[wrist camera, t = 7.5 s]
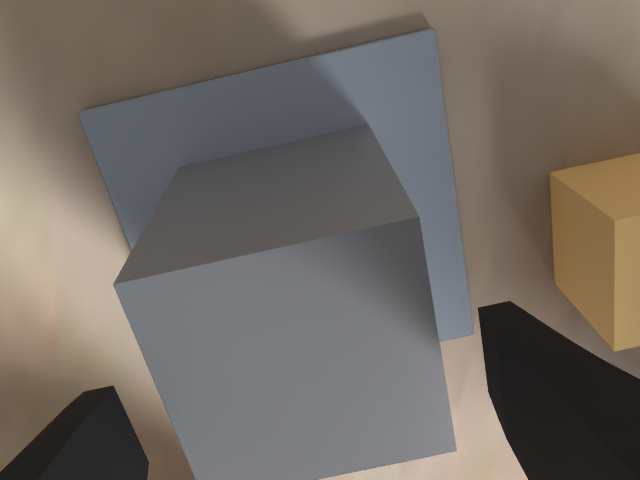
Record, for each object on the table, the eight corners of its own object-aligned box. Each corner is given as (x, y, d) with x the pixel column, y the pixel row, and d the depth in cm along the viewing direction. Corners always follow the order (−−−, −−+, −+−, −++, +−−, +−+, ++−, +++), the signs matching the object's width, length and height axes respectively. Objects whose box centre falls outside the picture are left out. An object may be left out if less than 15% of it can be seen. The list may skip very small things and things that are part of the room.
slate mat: (431, 27, 16) (434, 28, 16) (470, 327, 20) (474, 334, 20) (81, 110, 16) (77, 113, 16) (191, 387, 21) (189, 395, 20)
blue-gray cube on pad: (368, 123, 17) (419, 216, 10) (399, 290, 19) (457, 451, 13) (178, 167, 17) (113, 284, 11) (232, 327, 19) (205, 502, 13)
